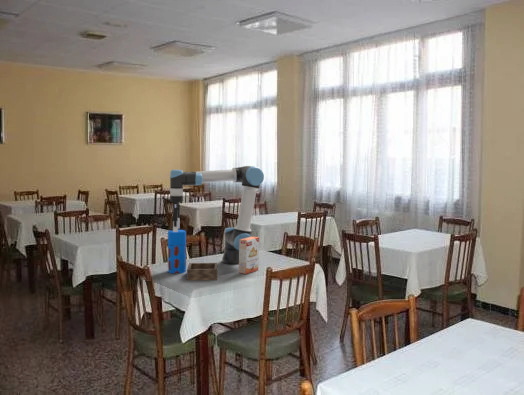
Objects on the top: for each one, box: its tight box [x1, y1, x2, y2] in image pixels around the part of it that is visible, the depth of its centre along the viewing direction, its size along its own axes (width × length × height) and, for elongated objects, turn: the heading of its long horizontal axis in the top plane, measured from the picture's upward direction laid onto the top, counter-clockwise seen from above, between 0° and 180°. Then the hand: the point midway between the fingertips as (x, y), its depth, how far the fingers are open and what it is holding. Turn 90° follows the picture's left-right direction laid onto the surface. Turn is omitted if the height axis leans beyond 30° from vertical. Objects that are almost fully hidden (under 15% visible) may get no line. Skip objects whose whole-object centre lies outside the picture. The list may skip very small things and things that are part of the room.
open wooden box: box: [186, 262, 218, 281], centre depth 304 cm, size 17×17×6 cm
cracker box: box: [238, 236, 260, 275], centre depth 315 cm, size 14×6×21 cm, turn 147°
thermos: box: [167, 229, 187, 274], centre depth 313 cm, size 11×11×25 cm
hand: (176, 230), depth 312 cm, fingers open, 13 cm apart
